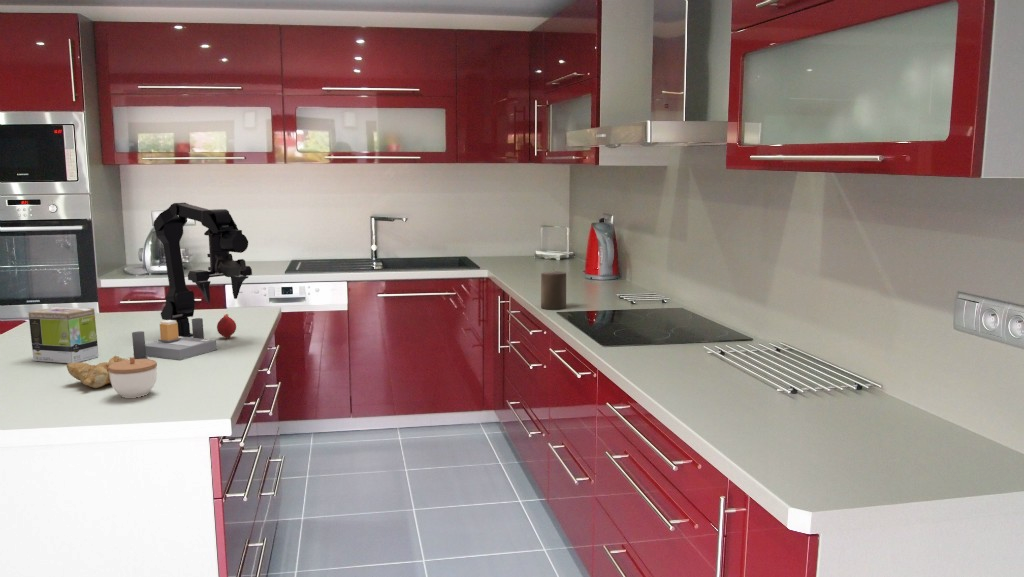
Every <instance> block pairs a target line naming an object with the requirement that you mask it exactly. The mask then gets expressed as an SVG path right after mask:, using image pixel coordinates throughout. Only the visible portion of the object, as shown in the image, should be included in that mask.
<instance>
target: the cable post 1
mask: <svg viewBox="0 0 1024 577" xmlns="http://www.w3.org/2000/svg"><path fill="white" fill-rule="evenodd" d="M131 338H132V347H133V348H132V349H133V357H134V359H148V356H146V348H145V344H146V338H145V331H142V330H141V331H140V330H139V331H133V332H131Z"/></svg>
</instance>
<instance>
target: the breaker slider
mask: <svg viewBox="0 0 1024 577" xmlns="http://www.w3.org/2000/svg"><path fill="white" fill-rule="evenodd" d="M159 332H160V336H159V337H160V339H158V340H157V341H161V342H172V341H176V340H180V339H182V338H179V335H178V322H177V321H175V320H163V321H160V323H159Z"/></svg>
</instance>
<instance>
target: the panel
mask: <svg viewBox="0 0 1024 577" xmlns="http://www.w3.org/2000/svg"><path fill="white" fill-rule="evenodd" d="M179 338H182V339H180V340H176V341H172V342H161V341H158V340H156V341H152V342H148V343H145V348H146V356H147V357H152V356H153V358H160V357H161V358H160V359H168V358H169V360H178V361H182V360H185V359H189V358H193V357H196V355H197V356H200V355H203V353H204V354H206V353H211V352H214V350H215V351H217V350H218V348H217V347H218V346H217V345H218V344H217V339H208V338H204V339H200V338H193V337H191V336H188V337H181V336H179Z"/></svg>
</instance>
